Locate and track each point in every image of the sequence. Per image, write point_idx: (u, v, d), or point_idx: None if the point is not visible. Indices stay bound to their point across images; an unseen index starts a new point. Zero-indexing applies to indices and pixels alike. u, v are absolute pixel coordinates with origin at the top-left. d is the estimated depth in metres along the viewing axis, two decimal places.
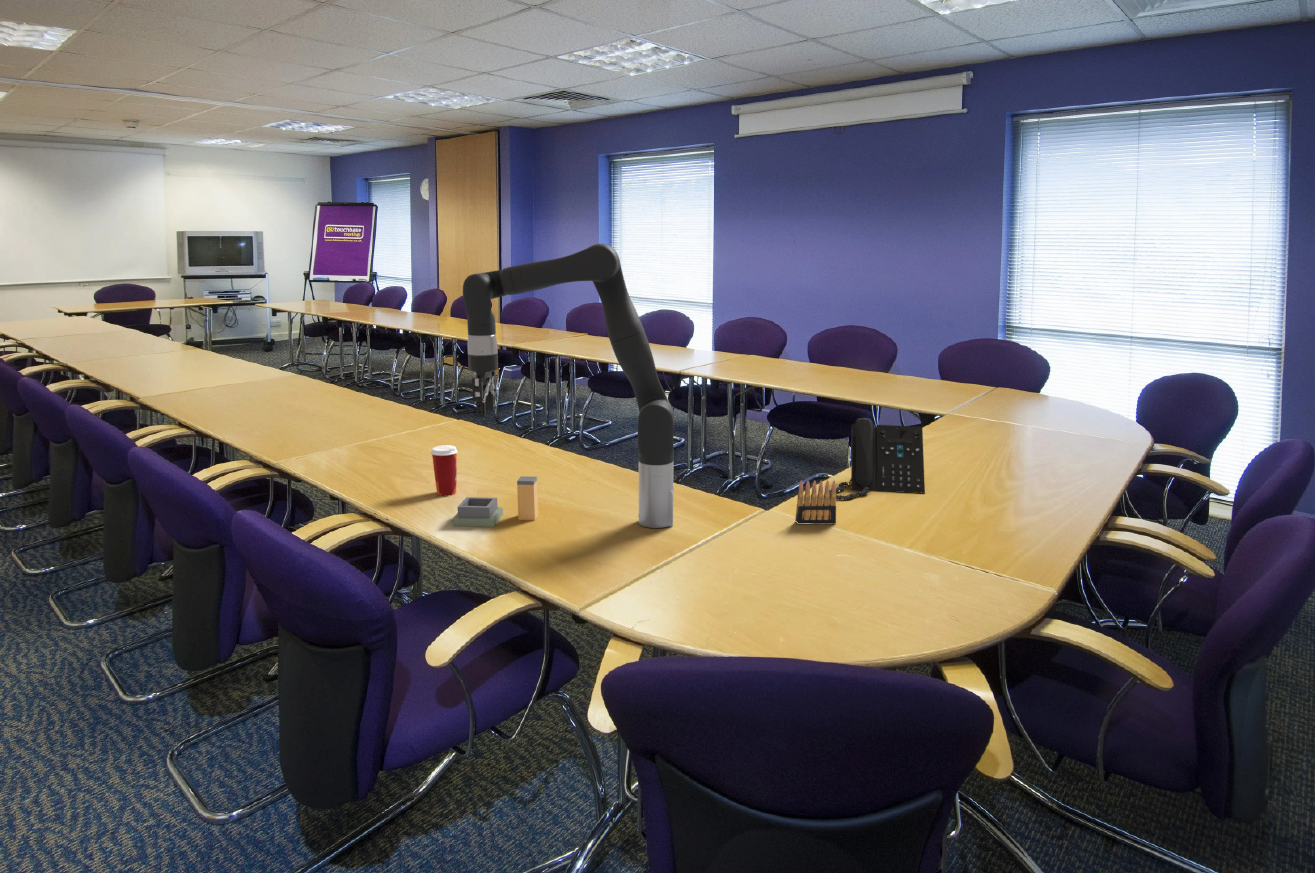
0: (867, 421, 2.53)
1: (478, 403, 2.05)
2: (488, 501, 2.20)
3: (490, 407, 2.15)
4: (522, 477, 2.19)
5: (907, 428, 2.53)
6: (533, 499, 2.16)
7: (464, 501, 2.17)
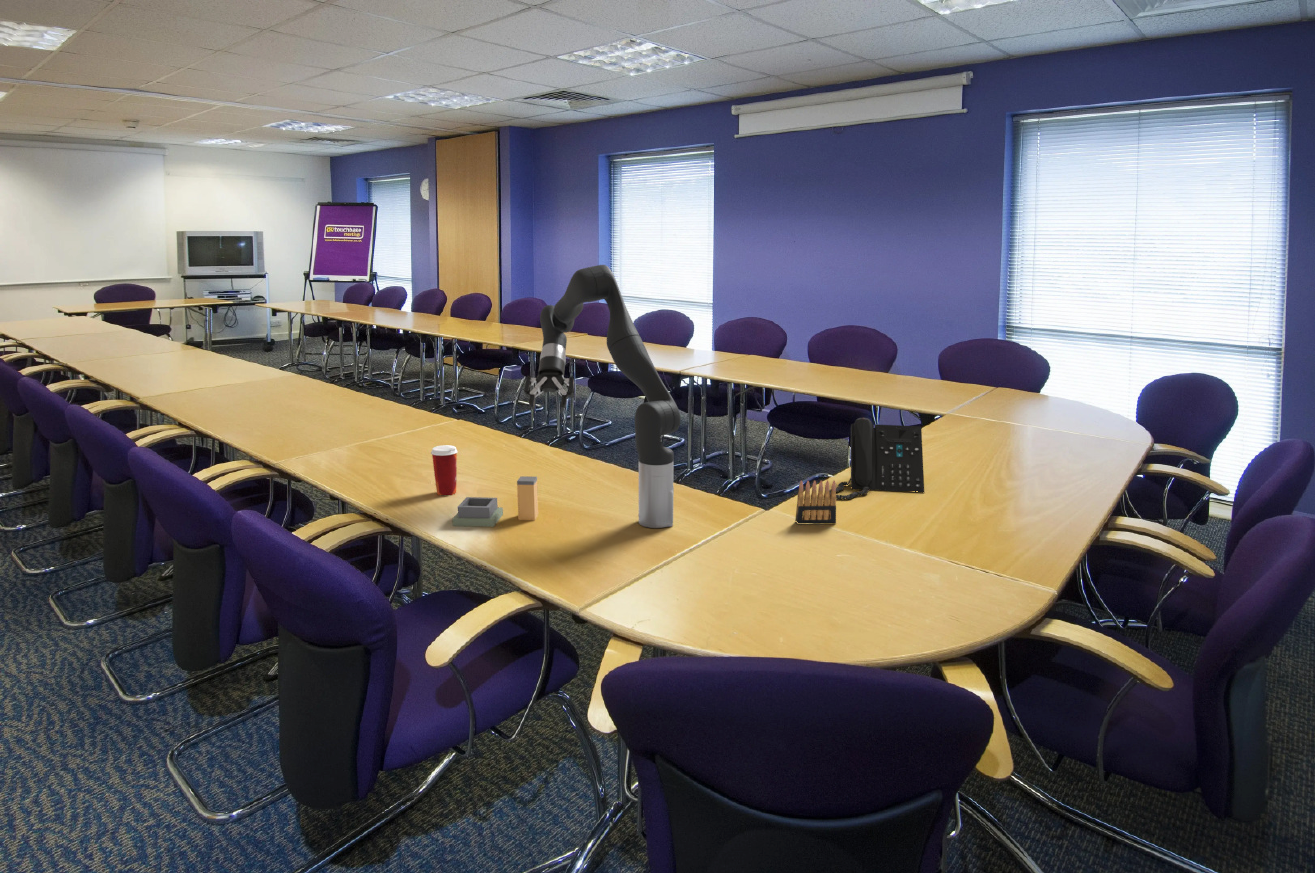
0: (866, 421, 2.53)
1: (530, 397, 2.33)
2: (488, 501, 2.20)
3: None
4: (522, 477, 2.19)
5: (906, 428, 2.54)
6: (533, 499, 2.16)
7: (464, 501, 2.17)
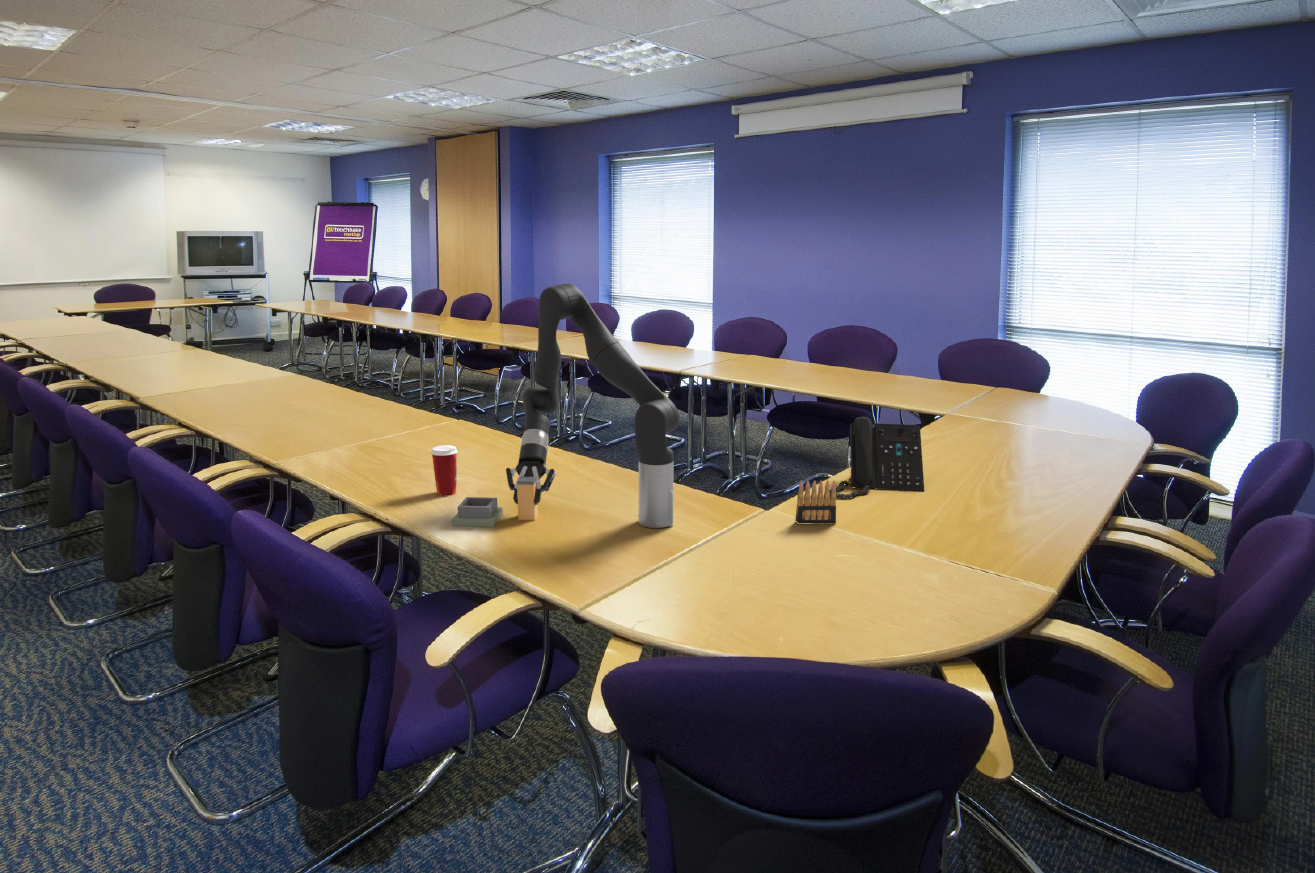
0: (866, 420, 2.55)
1: None
2: (488, 501, 2.20)
3: None
4: (522, 477, 2.19)
5: (905, 426, 2.55)
6: (533, 499, 2.16)
7: (464, 501, 2.17)
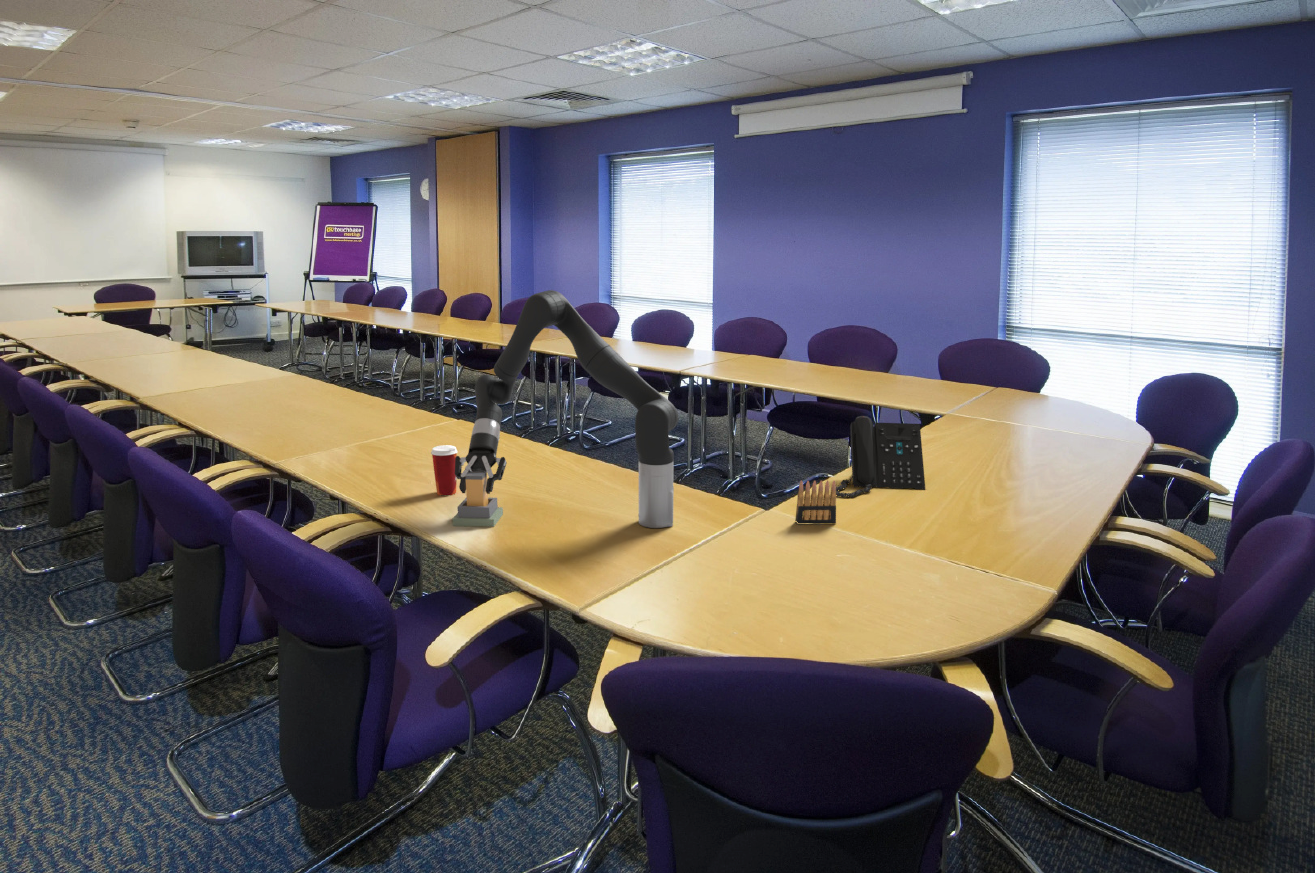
0: (866, 419, 2.56)
1: (461, 480, 2.16)
2: (488, 501, 2.20)
3: None
4: (471, 472, 2.16)
5: (905, 425, 2.57)
6: (482, 494, 2.14)
7: (464, 501, 2.17)
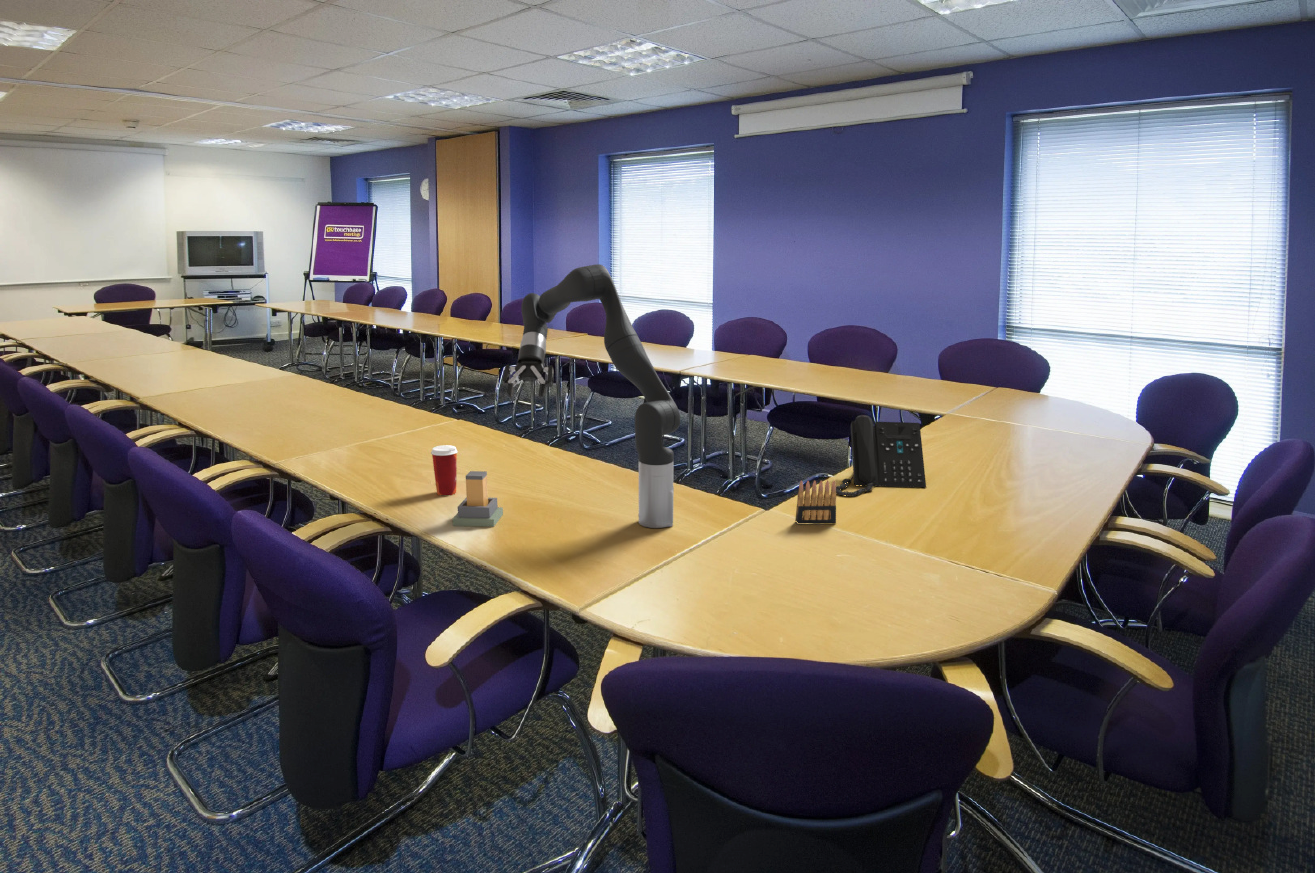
0: (867, 418, 2.57)
1: (508, 386, 2.30)
2: (488, 501, 2.20)
3: None
4: (471, 472, 2.16)
5: (905, 424, 2.58)
6: (482, 494, 2.14)
7: (464, 501, 2.17)
